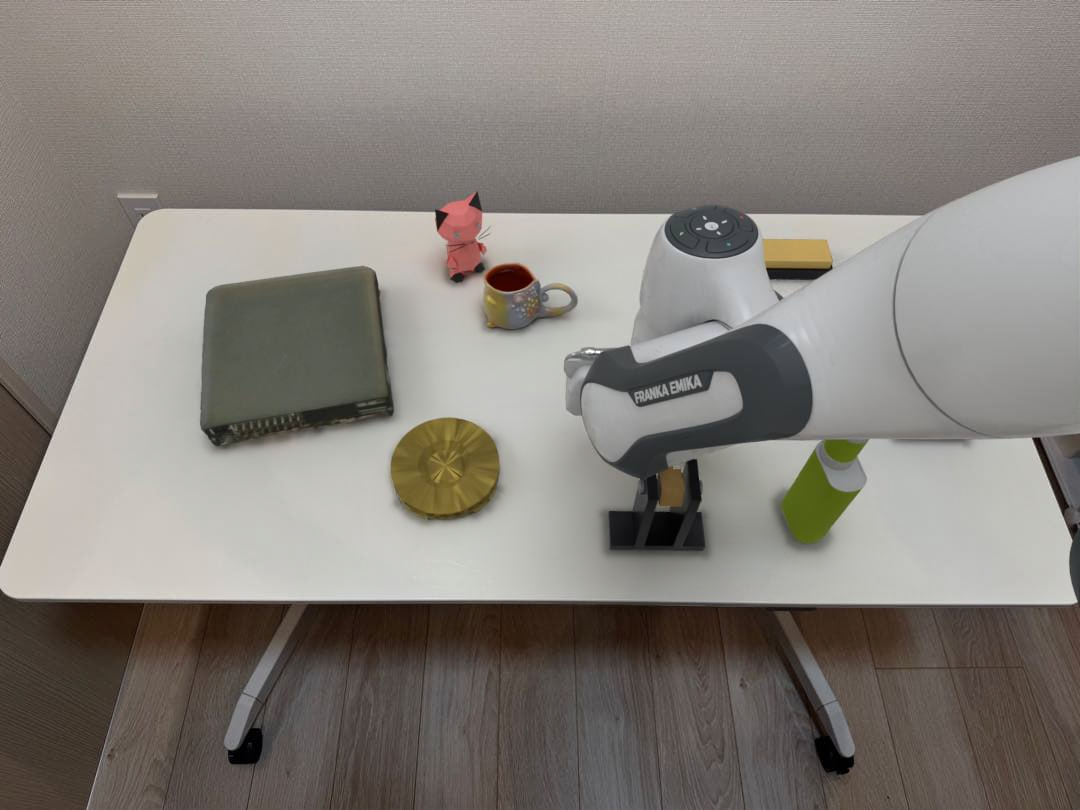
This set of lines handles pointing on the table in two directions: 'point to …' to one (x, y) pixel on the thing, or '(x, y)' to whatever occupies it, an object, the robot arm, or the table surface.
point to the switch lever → (670, 487)
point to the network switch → (293, 354)
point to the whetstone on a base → (797, 258)
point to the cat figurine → (462, 235)
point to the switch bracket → (660, 518)
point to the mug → (519, 296)
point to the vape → (824, 488)
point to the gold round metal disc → (445, 468)
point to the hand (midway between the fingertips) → (657, 426)
